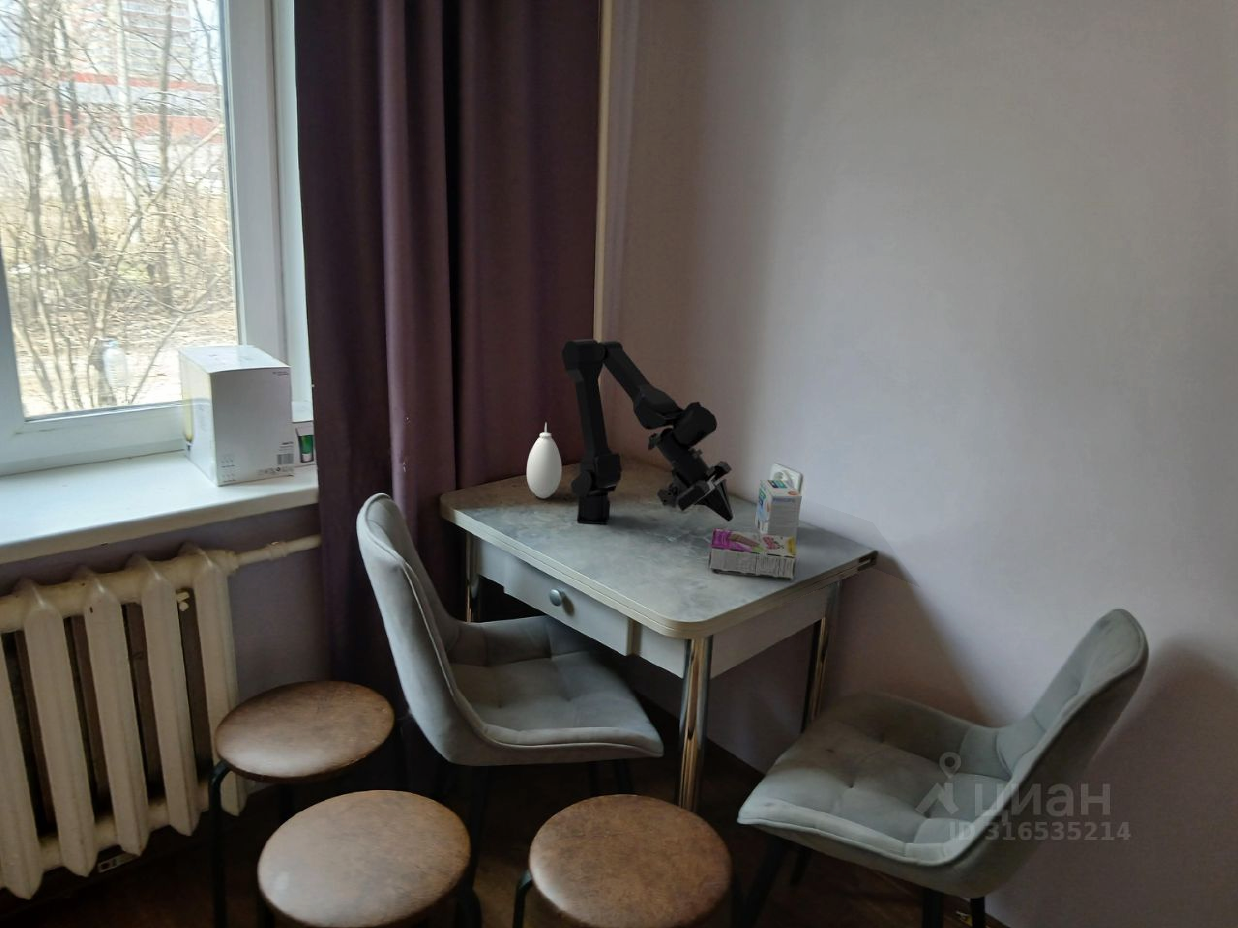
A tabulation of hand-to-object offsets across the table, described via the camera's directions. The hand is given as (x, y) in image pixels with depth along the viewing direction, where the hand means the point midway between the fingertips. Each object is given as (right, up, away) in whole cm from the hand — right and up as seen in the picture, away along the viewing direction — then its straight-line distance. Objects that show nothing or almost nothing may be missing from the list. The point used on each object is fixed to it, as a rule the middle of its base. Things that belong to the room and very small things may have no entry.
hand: (731, 520), depth 168 cm
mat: (+3, -8, +7) cm, 11 cm away
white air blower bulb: (-39, +3, +34) cm, 52 cm away
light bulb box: (+12, -5, +21) cm, 25 cm away
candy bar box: (-4, -6, +4) cm, 8 cm away
